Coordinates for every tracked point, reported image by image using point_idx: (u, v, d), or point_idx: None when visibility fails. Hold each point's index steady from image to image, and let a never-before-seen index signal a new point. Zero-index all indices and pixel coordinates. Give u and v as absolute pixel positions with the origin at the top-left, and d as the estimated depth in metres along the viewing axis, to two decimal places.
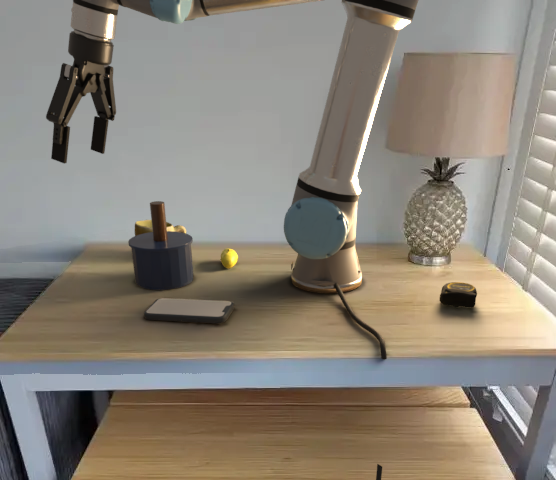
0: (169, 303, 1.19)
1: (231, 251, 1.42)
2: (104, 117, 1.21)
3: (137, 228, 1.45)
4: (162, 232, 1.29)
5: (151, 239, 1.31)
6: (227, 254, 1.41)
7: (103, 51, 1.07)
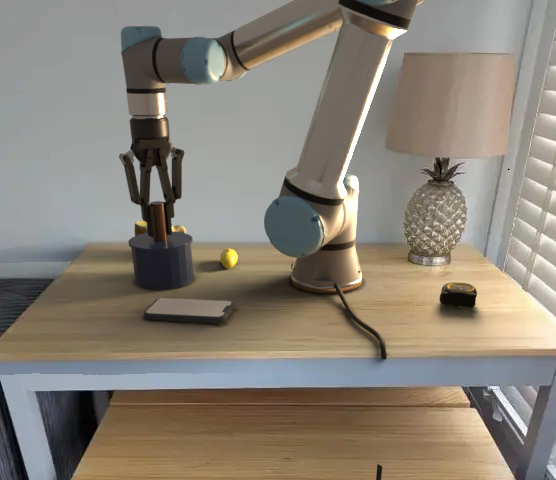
0: (169, 303, 1.19)
1: (231, 251, 1.42)
2: (166, 200, 1.28)
3: (137, 228, 1.45)
4: (162, 232, 1.29)
5: (151, 239, 1.31)
6: (227, 254, 1.41)
7: (148, 127, 1.17)
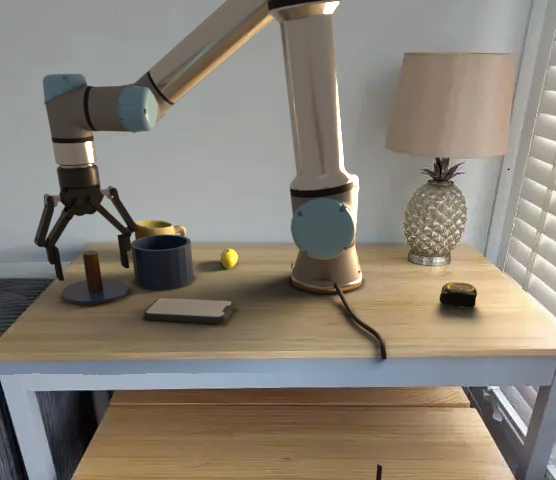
0: (169, 303, 1.19)
1: (231, 251, 1.42)
2: (123, 234, 1.25)
3: None
4: (96, 282, 1.25)
5: (86, 289, 1.27)
6: (227, 254, 1.41)
7: (75, 176, 1.13)
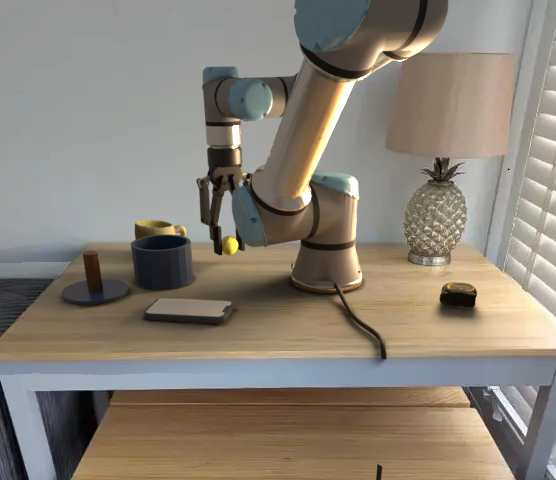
0: (169, 303, 1.19)
1: (231, 238, 1.40)
2: None
3: (137, 228, 1.45)
4: (96, 282, 1.25)
5: (86, 289, 1.27)
6: (228, 241, 1.39)
7: (225, 156, 1.29)
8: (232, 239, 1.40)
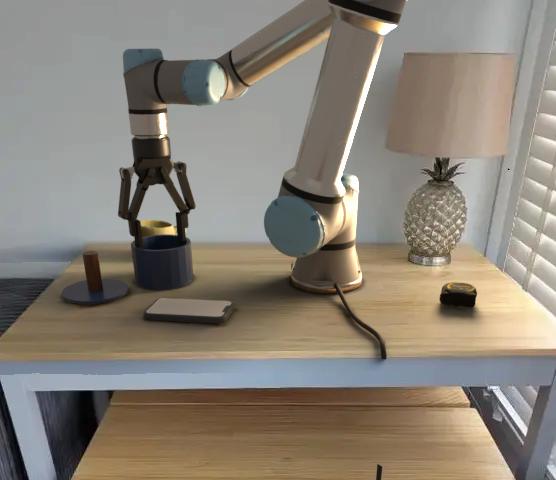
0: (169, 303, 1.19)
1: None
2: (181, 211, 1.31)
3: None
4: (96, 282, 1.25)
5: (86, 289, 1.27)
6: None
7: (150, 146, 1.19)
8: None
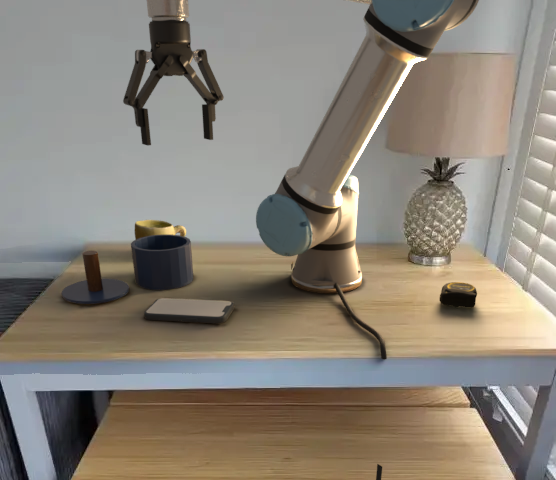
0: (169, 303, 1.19)
1: None
2: (208, 103, 1.23)
3: (137, 228, 1.45)
4: (96, 282, 1.25)
5: (86, 289, 1.27)
6: None
7: (169, 28, 1.10)
8: None
